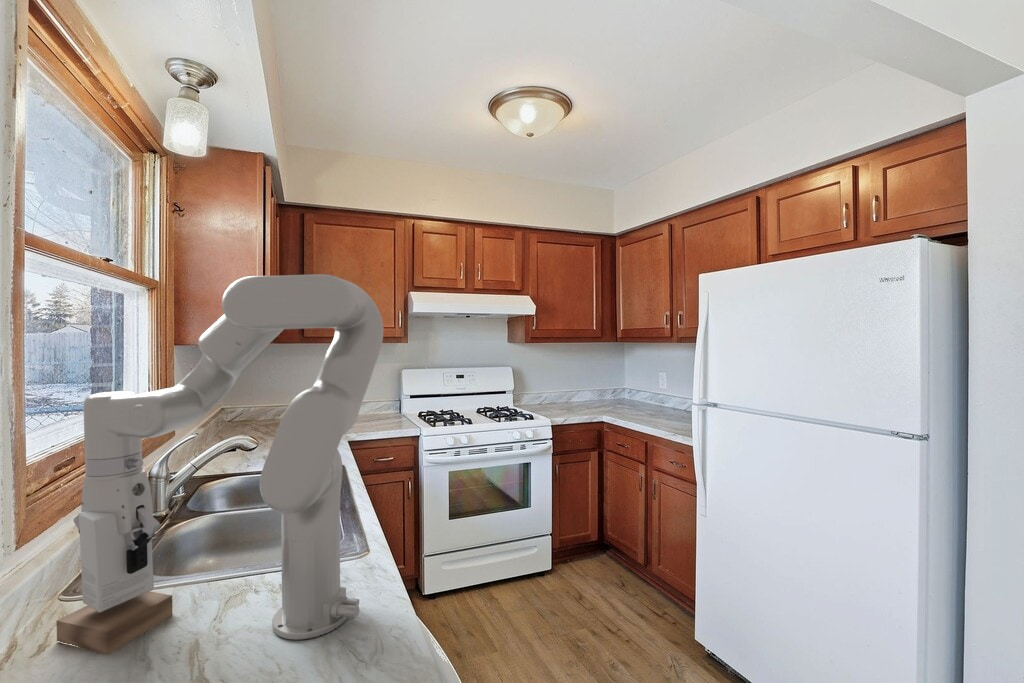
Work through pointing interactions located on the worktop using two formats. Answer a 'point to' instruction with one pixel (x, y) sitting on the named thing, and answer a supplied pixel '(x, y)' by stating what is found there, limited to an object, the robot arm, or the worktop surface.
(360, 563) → the worktop surface
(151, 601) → the walnut block
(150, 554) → the skincare box
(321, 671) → the worktop surface
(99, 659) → the worktop surface
